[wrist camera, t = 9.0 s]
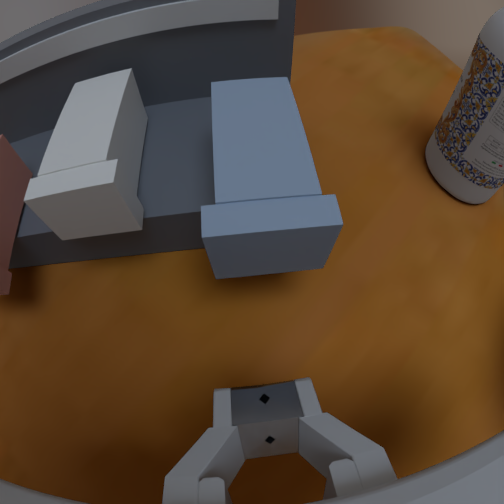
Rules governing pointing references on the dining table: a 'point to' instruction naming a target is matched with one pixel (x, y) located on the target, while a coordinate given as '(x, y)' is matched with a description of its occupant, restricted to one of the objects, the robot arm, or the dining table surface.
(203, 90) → the console
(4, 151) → the terracotta key
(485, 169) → the bath foam
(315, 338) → the dining table surface
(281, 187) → the slate-blue key
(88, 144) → the ivory key
